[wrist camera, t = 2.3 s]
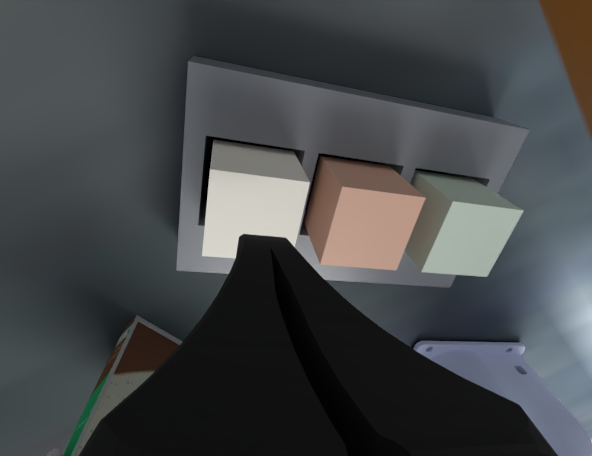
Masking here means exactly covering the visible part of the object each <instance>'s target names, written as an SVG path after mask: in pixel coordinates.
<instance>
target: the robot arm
mask: <svg viewBox="0 0 592 456" xmlns="http://www.w3.org/2000/svg"><path fill="white" fill-rule="evenodd" d="M524 350H525V346H524V345H523V344H522V343H512V342H462V341H419V342H418V343H416V345H415V346H414V348H413V349H412V348H410V347H409V346H407V345H406V344H404V343H403V342H401V341H400V340H398V339H397V338H395V337H394V336H392V335H391V334H389V333H388V332H386V331H385V330H383V329H382V328H381V327H379V326H378V325H377V324H375V323H374V322H373V321H371V320H370V319H369V318H367V317H366V316H365V315H364V314H362V313H361V312H360V311H359V310H357V309H356V308H355V307H354V306H352V305H351V304H350V303H349V302H348V301H347V300H346V299H344V298H343V297H342V296H341V295H340V294H339V293H338V292H337V291H336V290H335V289H334V288H333V287H332V286H330V285H329V284H328V283H327V282H326V281H325V280H324V279H323V278H322V277H321V275H320V274H319V273H318V272H317V271H316V270H315V269H314V268H313V267H312V266H311V265H310V264H309V263H308V262H307V260H306V259H305V258H304V257H303V256H302V255H301V254H300V253H299V252H298V250H297V249H296V248H295V247H294V246H293V245H292V244H291V242H290V241H289V240H288V239H287V238H285V237H274V236H262V235H251V234H243V235H241V236H240V237H239V240H238V247H237V253H236V259H235V261H234V263H233V266H232V268H231V270H230V273H229V275H228V277H227V279H226V280H225V282H224V284H223V286H222V288H221V290H220V291H219V293H218V295H217V296H216V298H215V300H214V301H213V303H212V304H211V306H210V307H209V309H208V310H207V312H206V313H205V314H204V316H203V317H202V319H201V320H200V321H199V322H198V324H197V325H196V326H195V327H194V329H193V330H192V331H191V333H190V334H189V335H188V336H187V337H186V339H185V340H184V341H183V342H182V343H181V344H180V346H179V347H178V348H177V349H176V350H175V351H174V352H173V353H172V354H171V355H170V356H169V357H168V358H167V359H166V360H165V361H164V362H163V363H162V364H161V365H160V366H159V367H158V369H157V370H156V371H155V372H154V373H153V374H152V375H151V376H150V377H149V378H148V379H146V380H145V381H144V382H143V383H142V384H141V385H140V386H139V387H138V388H137V389H135V390H134V391H133V392H132V393H131V394H130V395H129V396H127V397H126V398H125V399H124V400H123V401H122V402H121V403H119V404H118V405H117V406H116V407H115V408H114V409H113V410H112V411H110V412H109V413H108V414H107V415H106V416H105V417H103V418H102V419H101V420H100V422H99V423H98V425H97V426H96V428H95V430H94V431H93V433H92V434H91V436H90V438H89V439H88V441H87V443H86V444H85V446H84V448H83V449H82V451H81V453H80V454H79V456H592V443H591V441H590V439H589V437H588V435H587V433H586V431H585V430H584V428H583V427H582V425H581V424H580V423H579V422H578V420H577V419H576V418H575V417H574V416H573V415H572V414H571V412H570V411H569V410H568V409H567V408H566V407H565V406H564V404H563V403H562V402H561V401H560V400H559V399H558V398H557V397H556V395H555V394H554V393H553V392H552V391H551V390H550V389H549V388H548V386H547V385H546V384H545V383H544V382H543V381H542V380H541V378H540V377H539V376H538V375H537V374H536V373H535V372H534V371H533V369H532V368H531V367H530V366H529V365H528V364H527V363H526V362H525V360H524V359H523V358H522V357H521V355H522V353H523V352H524Z"/></svg>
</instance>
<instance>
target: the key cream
mask: <svg viewBox="0 0 592 456" xmlns="http://www.w3.org/2000/svg"><path fill="white" fill-rule="evenodd" d="M309 185H310V181H309V179H308V178H307V176H306V174H305V172H304V170H303V168H302V166H301V164H300V162H299V160H298V159H297V157H296V155H295V153H294V152H293V151H287V150H280V149H274V148H267V147H261V146H254V145H247V144H241V143H234V142H228V141H221V140H215V139H213V148H212V156H211V165H210V174H209V185H208V196H207V206H206V217H205V227H204V238H203V249H202V256H208V257H221V258H235V259H236V253H237V247H238V240H239V237H240V236H241V235H243V234H251V235H262V236H274V237H285V238H287V239H288V240H289V241H290V242H291V244H292V245H293V246H294V247H295V244H296V240H297V236H298V231H299V227H300V223H301V219H302V214H303V210H304V206H305V202H306V197H307V193H308V189H309Z"/></svg>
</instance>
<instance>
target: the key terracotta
mask: <svg viewBox="0 0 592 456" xmlns="http://www.w3.org/2000/svg"><path fill="white" fill-rule="evenodd" d="M425 199H426V197H425V196H423V195H422V194H421V193H420V192H419V191H418V190H417V189H415V188H414V187H413V186H412V185H411V184H410V183H408V182H407V181H406V180H405V179H404V178H403V177H402V176H400V175H399V174H398V173H397V172H396V171H395V170H394V169H392V168H391V167H390V166H386V165H379V164H372V163H366V162H359V161H353V160H346V159H339V158H333V157H326V156H320V158H319V163H318V167H317V171H316V175H315V179H314V183H313V187H312V192H311V196H310V200H309V204H308V208H307V212H306V216H305V221H304V224H305V227H306V229H307V232H308V235H309V237H310V240H311V242H312V245H313V248H314V250H315V253H316V255H317V258H318V260H319V263H320V265H330V266H344V267H358V268H371V269H385V270H397V268H398V265H399V263H400V260H401V258H402V255H403V253H404V250H405V248H406V245H407V243H408V240H409V238H410V236H411V233H412V231H413V228H414V226H415V223H416V221H417V218H418V216H419V213H420V211H421V209H422V206H423V204H424V201H425Z"/></svg>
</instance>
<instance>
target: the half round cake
mask: <svg viewBox="0 0 592 456" xmlns="http://www.w3.org/2000/svg"><path fill="white" fill-rule="evenodd" d="M181 343H182V341H181V340H179V339H177V338H176V337H174V336H172V335H170V334H169V333H167V332H165V331H164V330H162V329H160V328H158V327H157V326H155V325H153V324H152V323H150V322H148V321H146V320H145V319H143V318H141V317H140V316H138V315H136V316H135V317H134V318H133V319H132V320H131V321H130V322H129V323H128V324H127V326H126V327H125V328H124V330H123V332H122V334H121V336H120V338H119V340H118V342H117V344H116V346H115V348H114V350H113V353H112V355H111V357H110V359H109V361H108V363H107V365H106V367H105V369H104V371H103V373H102V375H101V377H100V379H99V381H98V383H97V385H96V387H95V389H94V391H93V393H92V395H91V397H90V399H89V401H88V403H87V405H86V407H85V409H84V411H83V413H82V415H81V417H80V419H79V421H78V423H77V425H76V427H75V429H74V431H73V433H72V435H71V437H70V439H69V441H68V443H67V445H66V447H65V449H64V451H63V453H62V455H61V456H79V454H80V453H81V451H82V449H83V448H84V446H85V444H86V443H87V441H88V439H89V438H90V436H91V434H92V433H93V431H94V430H95V428H96V426H97V425H98V423H99V422H100V420H101V419H102V418H103V417H105V416H106V415H107V414H108V413H109V412H110V411H112V410H113V409H114V408H115V407H116V406H117V405H118V404H119V403H121V402H122V401H123V400H124V399H125V398H126V397H127V396H129V395H130V394H131V393H132V392H133V391H134V390H135V389H137V388H138V387H139V386H140V385H141V384H142V383H143V382H144V381H145V380H146V379H148V378H149V377H150V376H151V375H152V374H153V373H154V372H155V371H156V370H157V369H158V367H159V366H160V365H161V364H162V363H163V362H164V361H165V360H166V359H167V358H168V357H169V356H170V355H171V354H172V353H173V352H174V351H175V350H176V349H177V348H178V347H179V346H180V344H181ZM58 451H59V447H54V448H53V449H52V450H51V451H50V452H49V453H48V454H47V455H46V456H58Z"/></svg>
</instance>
